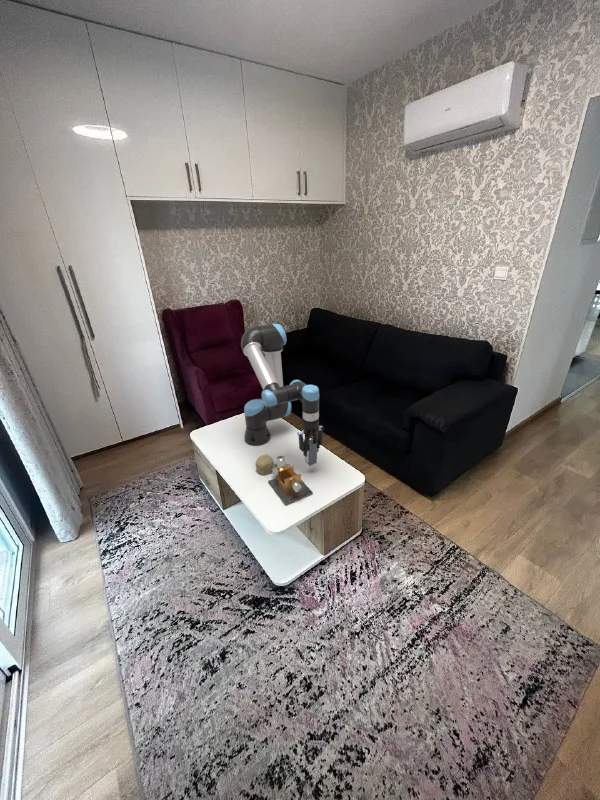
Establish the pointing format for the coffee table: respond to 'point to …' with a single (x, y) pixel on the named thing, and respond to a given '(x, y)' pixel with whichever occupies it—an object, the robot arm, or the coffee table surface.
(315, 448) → the dark gray rectangular block
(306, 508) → the coffee table surface
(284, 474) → the multicoloured piece
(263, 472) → the decorative object
